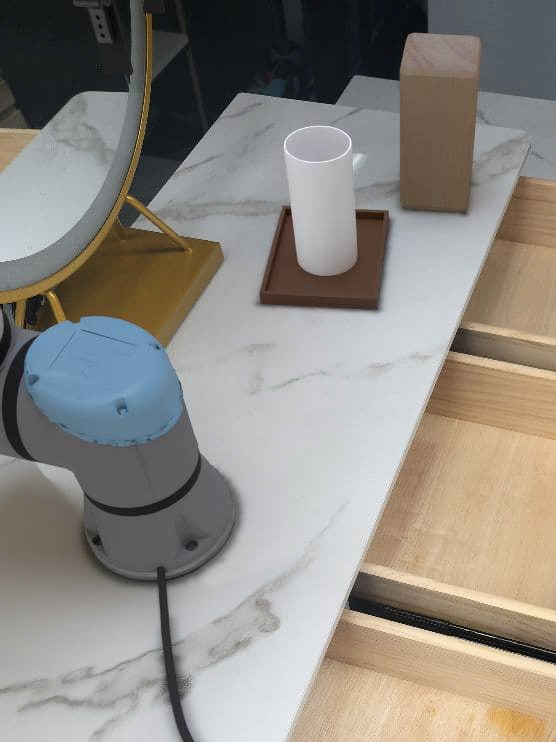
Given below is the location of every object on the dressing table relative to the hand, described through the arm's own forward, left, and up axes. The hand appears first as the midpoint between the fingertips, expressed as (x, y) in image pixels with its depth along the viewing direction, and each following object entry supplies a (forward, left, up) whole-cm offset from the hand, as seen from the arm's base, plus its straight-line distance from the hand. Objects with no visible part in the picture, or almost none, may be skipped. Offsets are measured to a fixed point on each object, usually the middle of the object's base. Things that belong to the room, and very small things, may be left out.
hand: (136, 41), depth 87 cm
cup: (+3, -18, -28) cm, 34 cm away
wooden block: (+20, -32, -29) cm, 48 cm away
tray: (+3, -18, -29) cm, 34 cm away
